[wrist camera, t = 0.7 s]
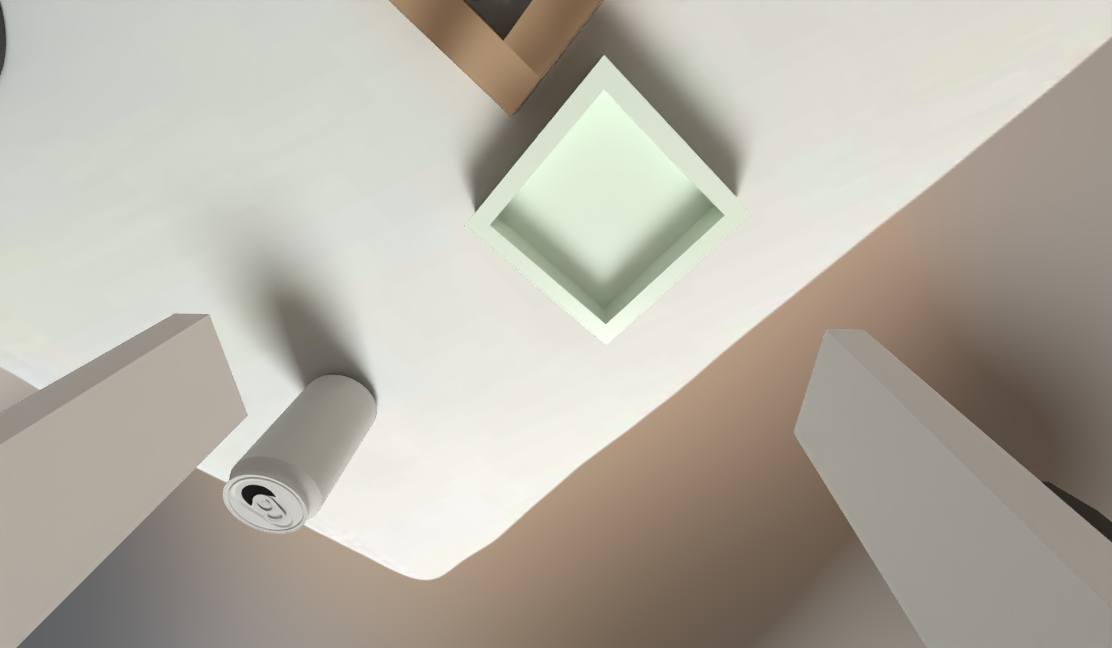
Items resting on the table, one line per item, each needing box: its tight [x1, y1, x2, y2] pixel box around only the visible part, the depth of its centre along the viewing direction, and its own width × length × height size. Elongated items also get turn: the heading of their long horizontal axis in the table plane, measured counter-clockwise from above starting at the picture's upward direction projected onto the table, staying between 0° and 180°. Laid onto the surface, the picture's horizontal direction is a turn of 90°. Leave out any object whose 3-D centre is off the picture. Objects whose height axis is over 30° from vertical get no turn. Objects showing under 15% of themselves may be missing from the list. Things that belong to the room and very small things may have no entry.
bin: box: [465, 55, 752, 345], centre depth 31 cm, size 13×13×4 cm
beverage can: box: [223, 375, 377, 534], centre depth 36 cm, size 6×6×12 cm
